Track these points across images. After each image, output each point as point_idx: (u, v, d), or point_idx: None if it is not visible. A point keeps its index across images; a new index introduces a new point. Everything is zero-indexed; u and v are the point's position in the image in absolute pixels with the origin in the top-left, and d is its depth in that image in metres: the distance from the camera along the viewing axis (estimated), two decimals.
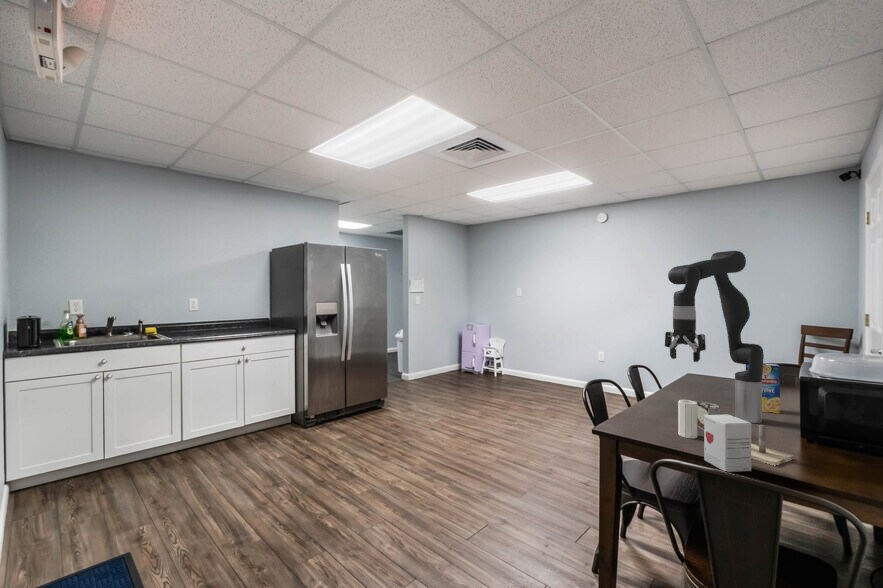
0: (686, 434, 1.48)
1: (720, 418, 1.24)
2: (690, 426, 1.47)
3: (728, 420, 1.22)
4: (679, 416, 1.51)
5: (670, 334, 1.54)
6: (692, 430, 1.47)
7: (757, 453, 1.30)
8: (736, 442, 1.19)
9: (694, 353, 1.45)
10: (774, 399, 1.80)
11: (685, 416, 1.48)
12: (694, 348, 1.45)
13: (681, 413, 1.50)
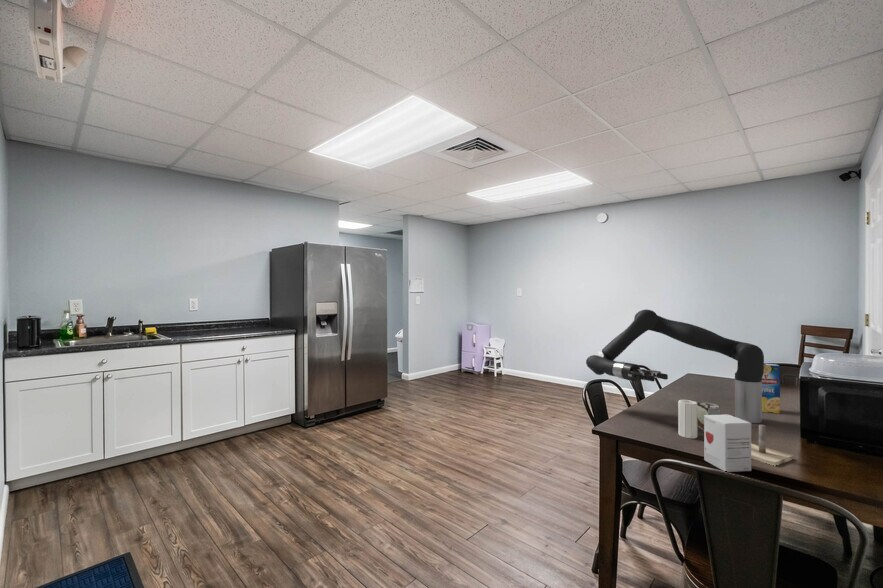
0: (686, 434, 1.48)
1: (720, 418, 1.24)
2: (690, 426, 1.47)
3: (728, 420, 1.22)
4: (679, 416, 1.51)
5: None
6: (692, 430, 1.47)
7: (757, 453, 1.30)
8: (736, 441, 1.19)
9: (646, 379, 1.61)
10: (774, 399, 1.80)
11: (685, 416, 1.48)
12: None
13: (681, 413, 1.50)
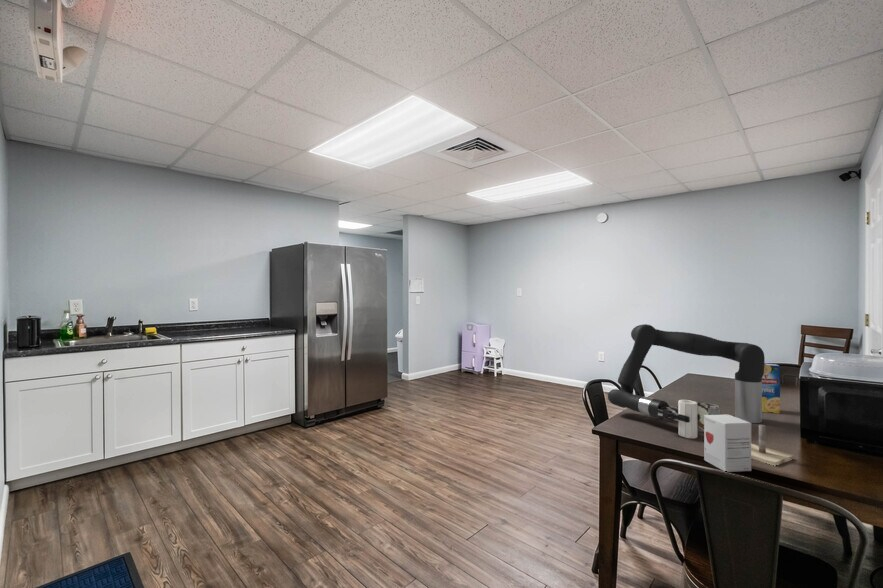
0: (686, 434, 1.48)
1: (720, 418, 1.24)
2: (690, 426, 1.47)
3: (728, 420, 1.22)
4: None
5: None
6: (692, 430, 1.47)
7: (757, 453, 1.30)
8: (736, 441, 1.19)
9: (680, 420, 1.50)
10: (774, 399, 1.80)
11: None
12: None
13: (681, 413, 1.50)
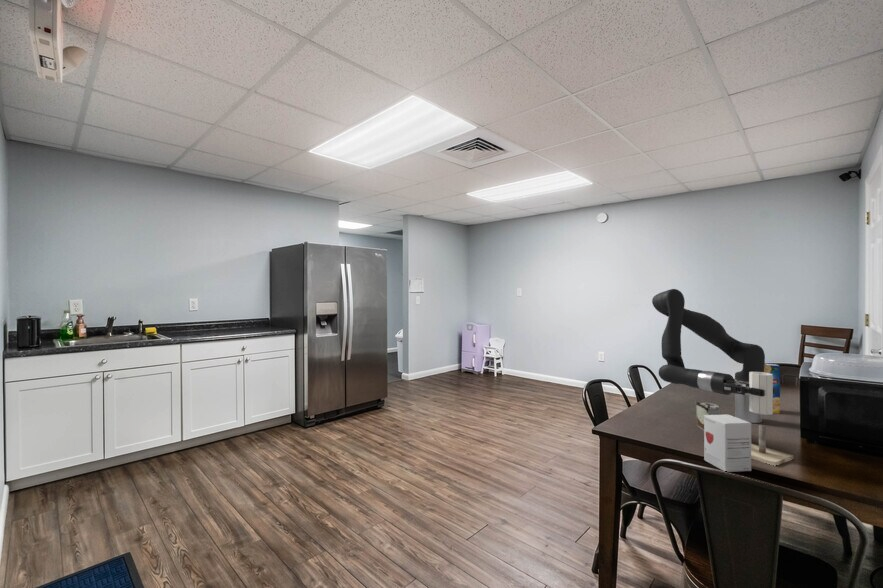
0: (760, 410, 1.29)
1: (720, 418, 1.24)
2: (765, 401, 1.29)
3: (728, 420, 1.22)
4: None
5: None
6: (768, 405, 1.28)
7: (757, 453, 1.30)
8: (736, 441, 1.19)
9: (753, 394, 1.31)
10: (774, 399, 1.80)
11: None
12: (746, 393, 1.32)
13: (754, 386, 1.31)
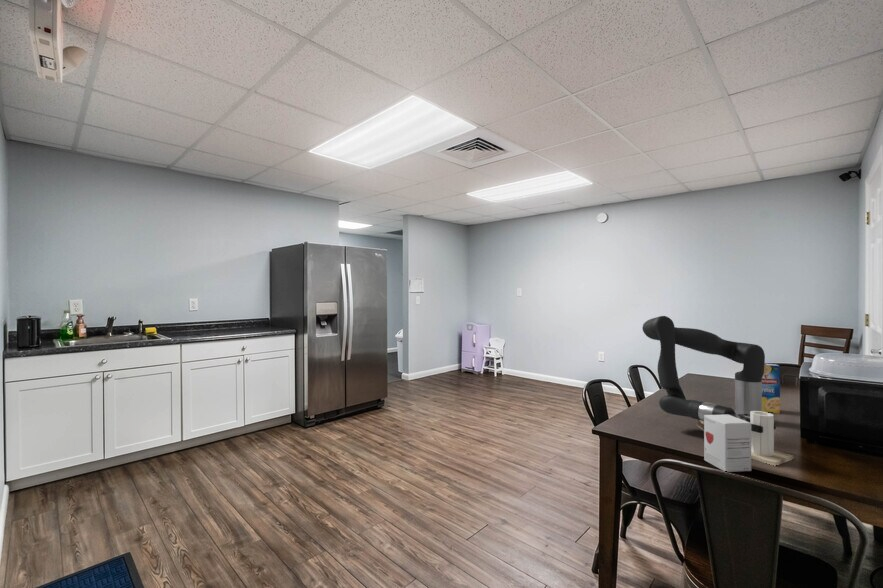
0: (761, 451, 1.29)
1: (720, 418, 1.24)
2: (766, 442, 1.28)
3: (728, 420, 1.22)
4: None
5: None
6: (769, 446, 1.28)
7: None
8: (736, 441, 1.19)
9: (751, 430, 1.30)
10: (774, 399, 1.80)
11: None
12: None
13: None
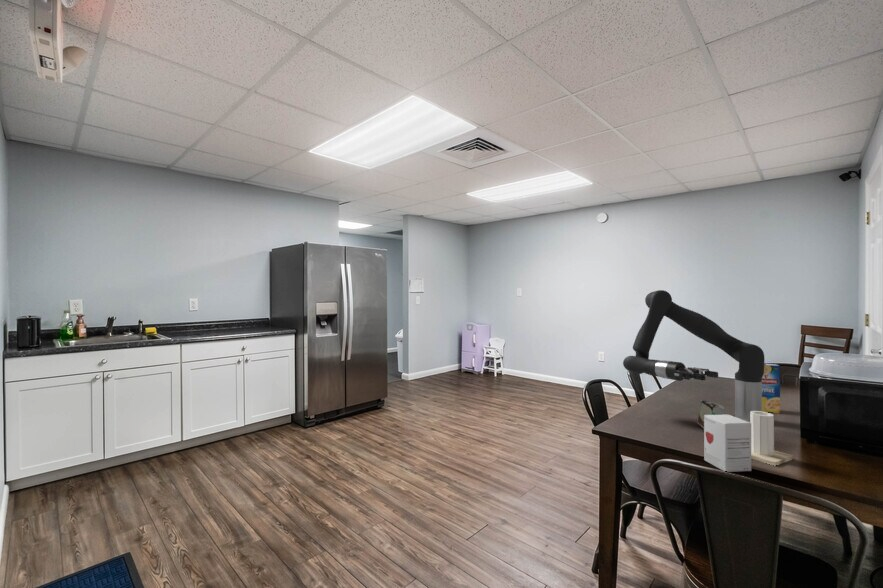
0: (761, 451, 1.29)
1: (720, 418, 1.24)
2: (766, 442, 1.28)
3: (728, 420, 1.22)
4: (752, 430, 1.32)
5: None
6: (769, 446, 1.28)
7: None
8: (736, 442, 1.19)
9: (696, 378, 1.50)
10: (774, 399, 1.80)
11: (760, 430, 1.29)
12: (691, 378, 1.52)
13: (755, 426, 1.30)
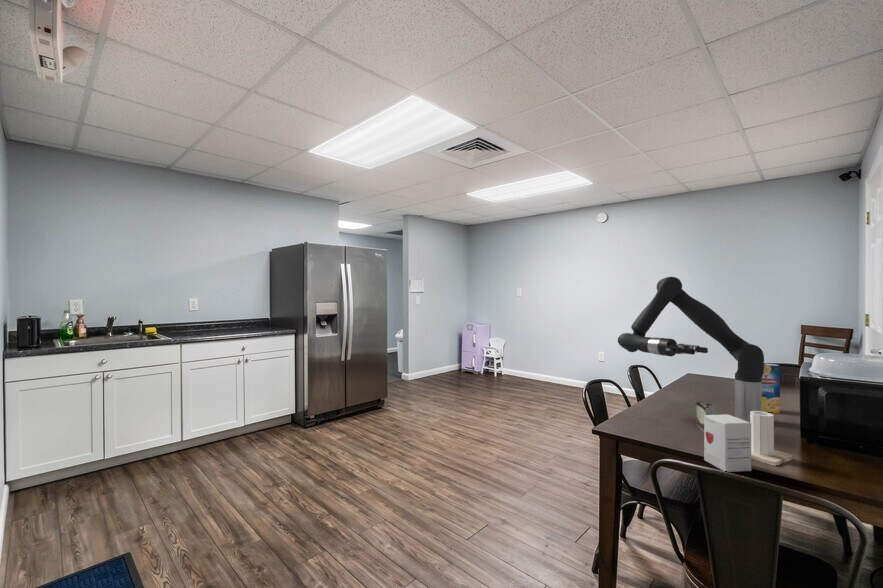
0: (761, 451, 1.29)
1: (720, 418, 1.24)
2: (766, 442, 1.28)
3: (728, 420, 1.22)
4: (752, 430, 1.32)
5: None
6: (769, 446, 1.28)
7: None
8: (736, 441, 1.19)
9: (686, 353, 1.56)
10: (774, 399, 1.80)
11: (760, 430, 1.29)
12: (681, 353, 1.57)
13: (755, 426, 1.30)
